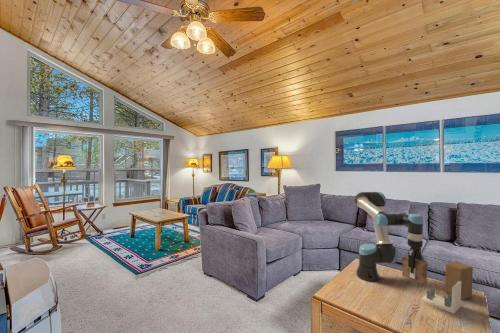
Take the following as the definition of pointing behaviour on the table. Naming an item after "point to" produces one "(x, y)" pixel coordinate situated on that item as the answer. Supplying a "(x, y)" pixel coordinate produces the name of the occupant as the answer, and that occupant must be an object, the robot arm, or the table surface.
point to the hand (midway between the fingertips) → (414, 276)
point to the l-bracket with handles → (445, 299)
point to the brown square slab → (419, 271)
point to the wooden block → (459, 278)
